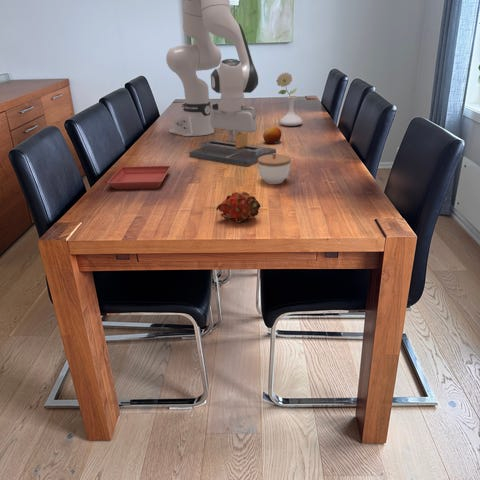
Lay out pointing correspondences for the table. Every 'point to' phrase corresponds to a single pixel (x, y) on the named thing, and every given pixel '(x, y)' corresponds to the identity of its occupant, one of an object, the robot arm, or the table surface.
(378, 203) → the table surface
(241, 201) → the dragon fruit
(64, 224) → the table surface
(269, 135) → the fruit
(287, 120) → the flower in vase
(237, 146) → the block
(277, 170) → the lidded jar
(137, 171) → the plant saucer
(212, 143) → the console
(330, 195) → the table surface
